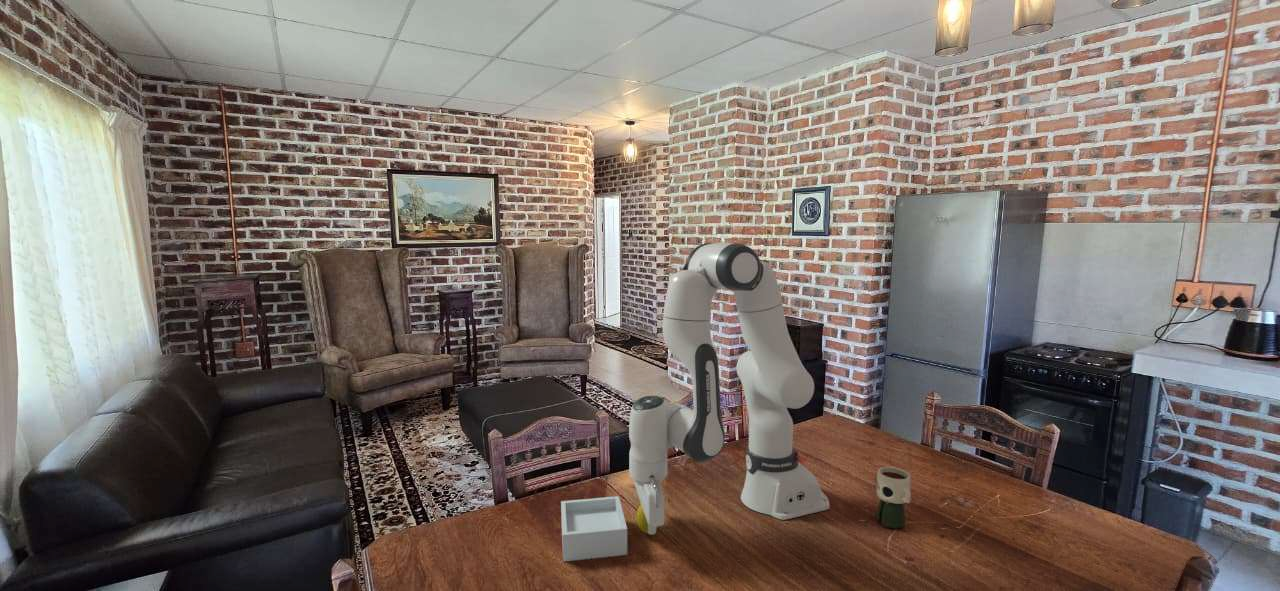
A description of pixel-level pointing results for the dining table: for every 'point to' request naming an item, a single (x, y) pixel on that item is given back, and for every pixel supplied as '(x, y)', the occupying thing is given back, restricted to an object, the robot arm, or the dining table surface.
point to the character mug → (892, 495)
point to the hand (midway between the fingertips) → (648, 522)
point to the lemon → (642, 520)
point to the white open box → (593, 528)
